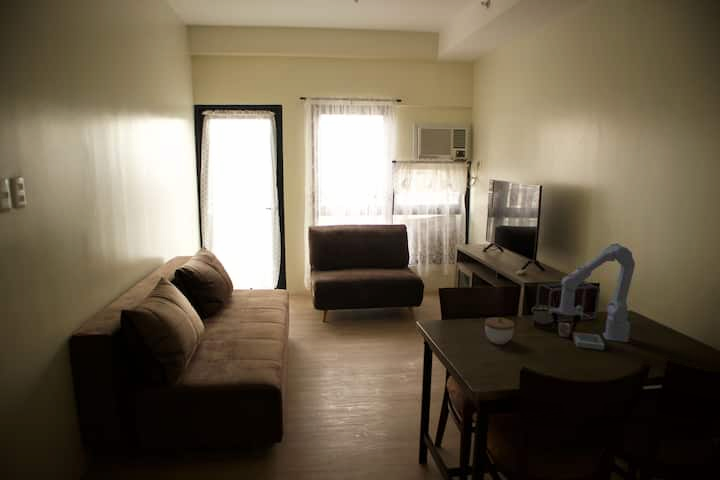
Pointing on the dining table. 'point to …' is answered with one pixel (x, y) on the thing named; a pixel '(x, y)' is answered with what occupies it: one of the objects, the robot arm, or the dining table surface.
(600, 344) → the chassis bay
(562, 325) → the beige cardboard-like cube
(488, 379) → the dining table surface
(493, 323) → the lidded bowl
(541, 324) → the food container
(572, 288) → the robot arm
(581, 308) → the newton's cradle
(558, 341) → the dining table surface
